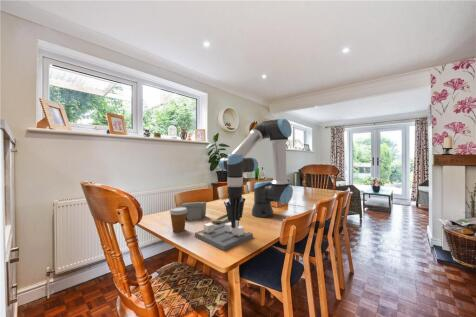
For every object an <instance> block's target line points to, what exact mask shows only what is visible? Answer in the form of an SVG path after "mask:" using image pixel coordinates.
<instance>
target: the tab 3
mask: <svg viewBox="0 0 476 317" xmlns="http://www.w3.org/2000/svg"><path fill="white" fill-rule="evenodd" d="M244 230H245V226H243V225H240V224H239V226H238V234H237V236H240V235H243V234H244ZM234 235H235V234H234Z"/></svg>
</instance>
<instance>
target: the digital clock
mask: <svg viewBox="0 0 476 317" xmlns="http://www.w3.org/2000/svg"><path fill="white" fill-rule="evenodd" d="M180 207H186V208H187V213H186V220H187V221H196V220H197V221H199V220H202V218H203V217H206V215H207V202H206V201H200V202H197V201H195V202H183V203H182V204H181V206H180Z"/></svg>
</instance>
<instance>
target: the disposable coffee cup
mask: <svg viewBox="0 0 476 317" xmlns="http://www.w3.org/2000/svg"><path fill="white" fill-rule="evenodd" d="M186 213H187V208H186V207H181V206H176V207H172V208H170V210H169V214H170V218H171V219H170V220H171V226H172V232H174V233H181V232H184V231H185V228H186V220H187V218H186Z"/></svg>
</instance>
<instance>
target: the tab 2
mask: <svg viewBox="0 0 476 317" xmlns="http://www.w3.org/2000/svg"><path fill="white" fill-rule="evenodd" d="M224 231H227V232H231V231H232V227H231V221H230V222H228V223H225V224H224Z"/></svg>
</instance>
